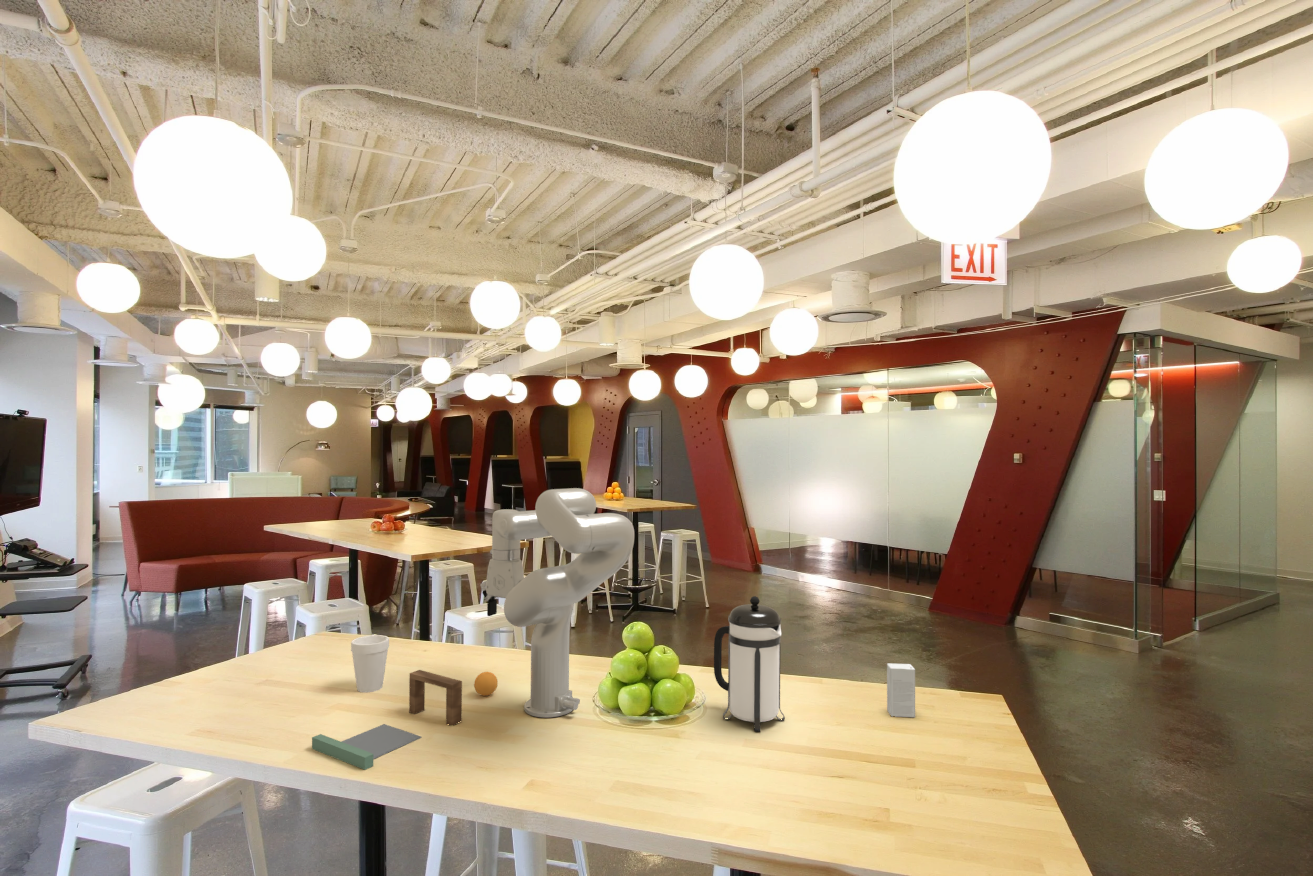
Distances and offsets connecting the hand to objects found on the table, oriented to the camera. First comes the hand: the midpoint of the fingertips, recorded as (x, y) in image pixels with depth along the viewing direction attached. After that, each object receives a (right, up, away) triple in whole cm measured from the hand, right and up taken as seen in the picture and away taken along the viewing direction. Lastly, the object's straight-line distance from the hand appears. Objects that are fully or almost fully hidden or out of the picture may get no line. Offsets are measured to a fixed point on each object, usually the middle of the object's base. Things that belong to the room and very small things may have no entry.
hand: (505, 617), depth 190 cm
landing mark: (-21, -19, -35) cm, 45 cm away
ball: (-4, -16, -7) cm, 18 cm away
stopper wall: (-25, -19, -43) cm, 53 cm away
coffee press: (+64, -20, -21) cm, 70 cm away
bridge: (-12, -19, -22) cm, 31 cm away
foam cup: (-36, -19, -3) cm, 41 cm away
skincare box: (+102, -20, -17) cm, 106 cm away
